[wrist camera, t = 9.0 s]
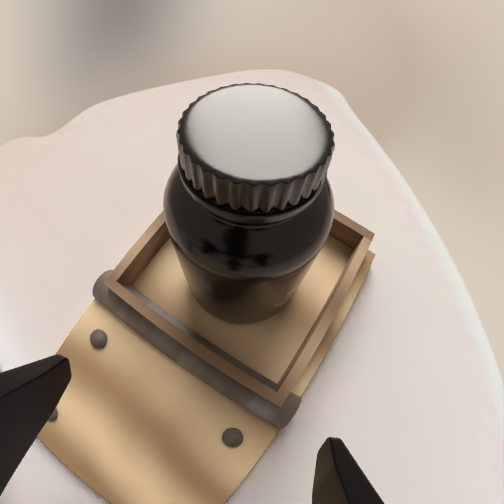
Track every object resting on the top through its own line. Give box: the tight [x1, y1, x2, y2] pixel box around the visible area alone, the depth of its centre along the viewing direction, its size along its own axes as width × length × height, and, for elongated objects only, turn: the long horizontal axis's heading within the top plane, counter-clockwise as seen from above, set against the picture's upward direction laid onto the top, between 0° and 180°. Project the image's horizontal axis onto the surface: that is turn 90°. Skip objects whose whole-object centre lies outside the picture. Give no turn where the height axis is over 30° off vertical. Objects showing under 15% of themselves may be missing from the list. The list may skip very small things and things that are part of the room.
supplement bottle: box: [163, 83, 335, 324], centre depth 14 cm, size 7×7×12 cm
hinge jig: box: [37, 210, 375, 504], centre depth 17 cm, size 24×14×3 cm, turn 148°
